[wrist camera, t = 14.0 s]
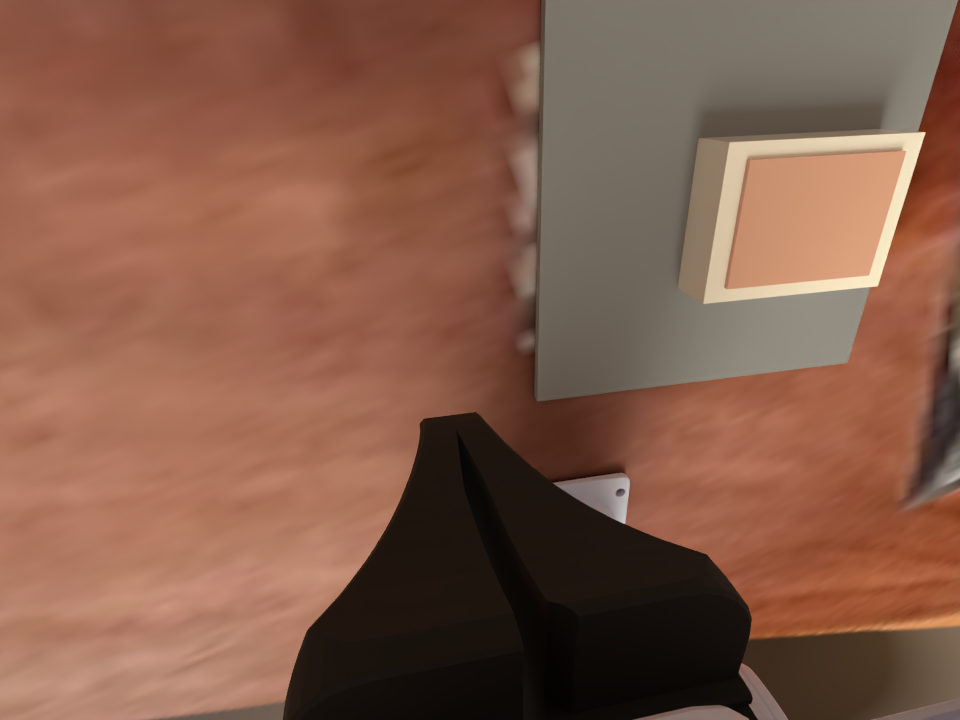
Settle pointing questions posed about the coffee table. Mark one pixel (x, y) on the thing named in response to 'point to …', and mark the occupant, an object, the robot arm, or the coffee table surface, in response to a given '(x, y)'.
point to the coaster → (794, 212)
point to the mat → (670, 168)
